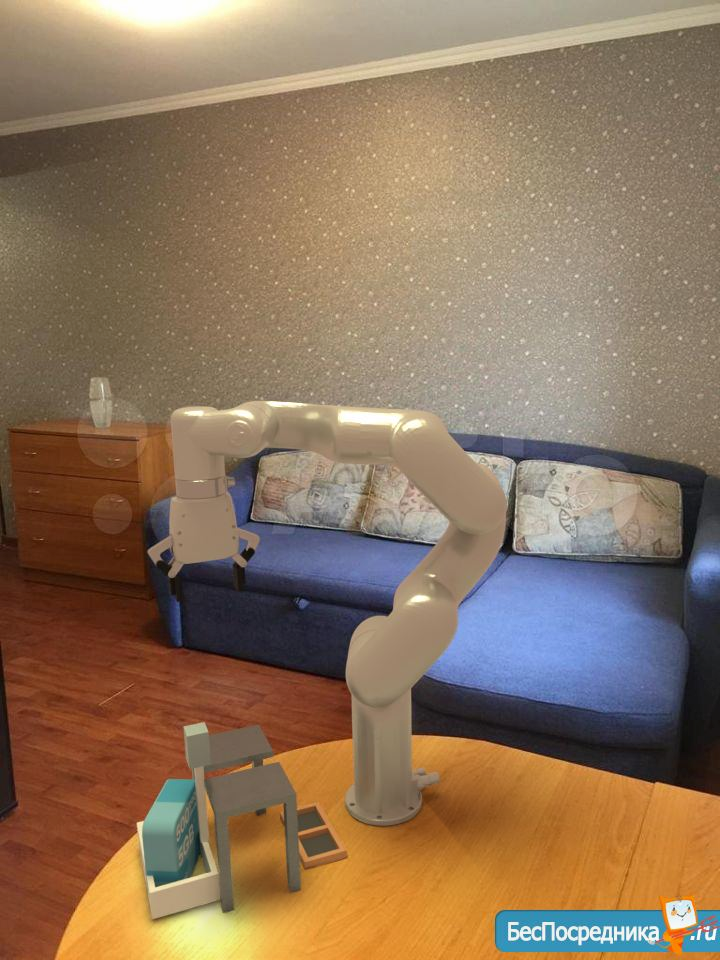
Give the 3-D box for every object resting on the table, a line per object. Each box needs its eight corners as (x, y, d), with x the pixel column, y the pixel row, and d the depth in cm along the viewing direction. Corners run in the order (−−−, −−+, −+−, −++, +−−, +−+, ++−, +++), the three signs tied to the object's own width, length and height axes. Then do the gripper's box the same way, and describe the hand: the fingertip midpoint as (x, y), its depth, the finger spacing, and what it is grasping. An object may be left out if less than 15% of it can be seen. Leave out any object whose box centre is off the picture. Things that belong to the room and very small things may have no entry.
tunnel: (263, 808, 127) (258, 724, 124) (301, 889, 109) (296, 793, 106) (196, 825, 123) (189, 739, 120) (223, 913, 105) (215, 813, 102)
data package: (179, 904, 106) (173, 826, 104) (147, 903, 107) (140, 825, 104) (204, 846, 118) (199, 774, 116) (175, 845, 119) (169, 774, 116)
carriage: (205, 828, 122) (196, 702, 118) (228, 897, 107) (218, 755, 103) (138, 846, 118) (126, 716, 114) (152, 919, 104) (138, 773, 99)
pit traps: (318, 808, 127) (318, 801, 127) (346, 857, 115) (346, 850, 115) (280, 818, 125) (279, 811, 124) (305, 869, 113) (304, 862, 113)
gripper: (249, 478, 126) (255, 579, 129) (139, 489, 119) (148, 595, 123) (262, 486, 119) (268, 592, 122) (146, 499, 112) (156, 611, 116)
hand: (208, 594), depth 122 cm, fingers open, 9 cm apart
